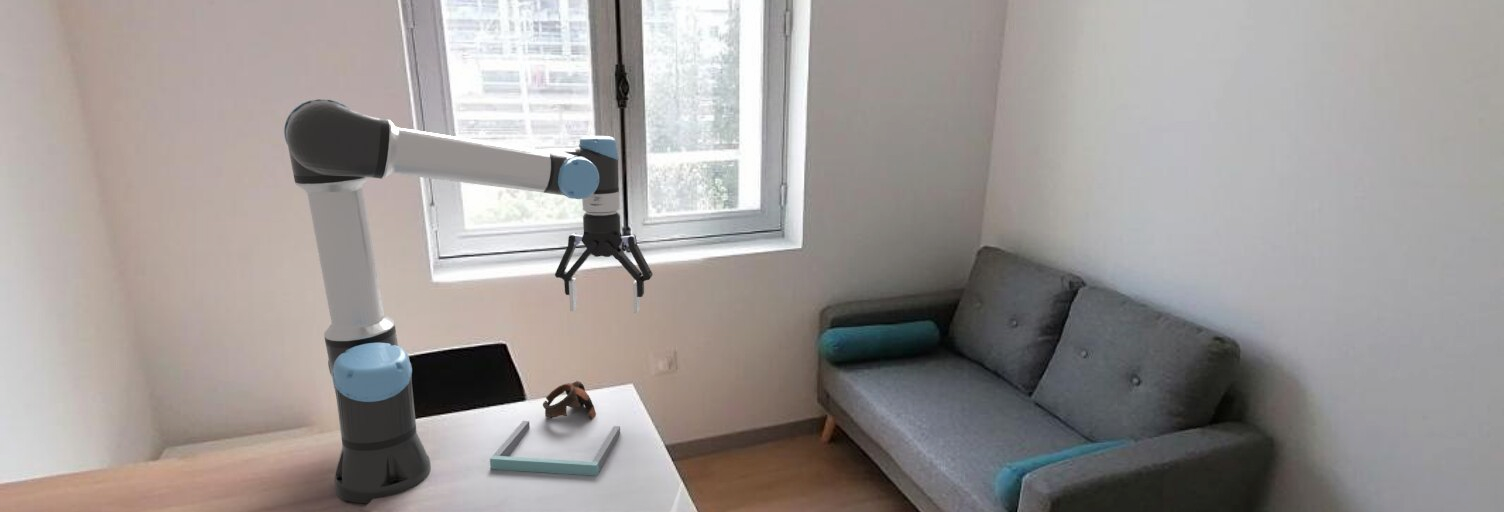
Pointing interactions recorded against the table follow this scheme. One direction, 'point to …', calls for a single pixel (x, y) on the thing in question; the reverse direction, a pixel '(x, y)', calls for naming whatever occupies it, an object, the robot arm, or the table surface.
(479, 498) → the table surface
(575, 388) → the brown curved openwork piece
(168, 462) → the table surface
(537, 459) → the bay
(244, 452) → the table surface
